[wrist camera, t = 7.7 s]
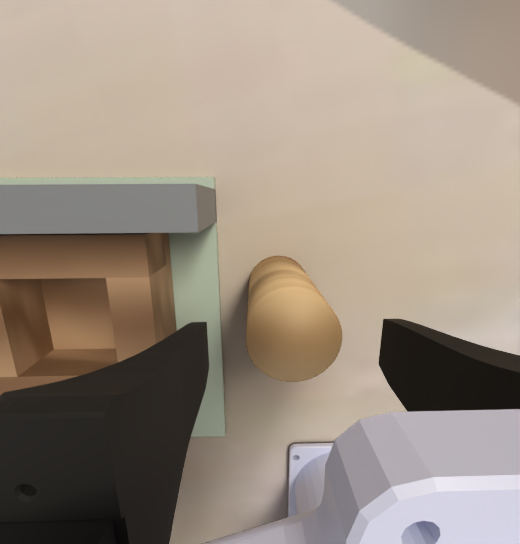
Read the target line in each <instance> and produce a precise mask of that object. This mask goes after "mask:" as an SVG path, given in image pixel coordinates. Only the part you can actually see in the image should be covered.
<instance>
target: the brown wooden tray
mask: <svg viewBox="0 0 520 544" xmlns="http://www.w3.org/2000/svg"><path fill="white" fill-rule="evenodd" d="M176 331H177V328H176V316H175V304H174V292H173V280H172V268H171V256H170V244H169V233H77V234H0V395H1V394H2V393H4V392H8V391H14V390H19V389H24V388H29V387H34V386H39V385H44V384H49V383H54V382H58V381H62V380H66V379H69V378H73V377H77V376H80V375H84V374H87V373H90V372H93V371H96V370H99V369H102V368H104V367H107V366H110V365H113V364H115V363H118V362H121V361H123V360H125V359H127V358H130V357H132V356H134V355H136V354H138V353H140V352H142V351H144V350H146V349H148V348H149V347H151V346H153V345H155V344H156V343H158V342H160V341H162V340H163V339H165V338H166V337H168V336H170V335H171V334H173V333H174V332H176Z"/></svg>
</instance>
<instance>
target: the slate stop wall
mask: <svg viewBox="0 0 520 544" xmlns="http://www.w3.org/2000/svg"><path fill="white" fill-rule="evenodd" d="M215 222H217V215H216V191H215V189H213V188H209V187H206V186H202V185H198V184H40V185H0V234H77V233H191V232H200V231H202V230H203V229H205V228H207V227H208V226H210V225H212V224H213V223H215Z"/></svg>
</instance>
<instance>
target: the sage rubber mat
mask: <svg viewBox="0 0 520 544" xmlns="http://www.w3.org/2000/svg"><path fill="white" fill-rule="evenodd" d="M40 184H198V185H202V186H206V187H209V188H213V189H215V177H122V178H0V185H40ZM169 244H170V256H171V268H172V280H173V292H174V304H175V316H176V328H177V330H179V329H180V328H182V327H184V326H185V325H187V324H189V323H191V322H207V336H208V354H209V372H208V378H207V384H206V389H205V393H204V396H203V399H202V402H201V406H200V409H199V412H198V415H197V418H196V421H195V425H194V428H193V431H192V434H191V437H219V436H225V434H226V428H225V404H224V380H223V357H222V333H221V309H220V286H219V262H218V239H217V222H215V223H213V224H212V225H210V226H208V227H207V228H205V229H203V230H202V231H200V232H191V233H169Z"/></svg>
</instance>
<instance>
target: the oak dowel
mask: <svg viewBox="0 0 520 544" xmlns="http://www.w3.org/2000/svg"><path fill="white" fill-rule="evenodd" d="M341 343H342V329H341V325H340V322H339V320H338V317H337V316H336V314H335V313H334V311H333V310H332V308H331V307H330V306H329V304H328V303H327V301H326V300H325V299H324V297H323V296H322V294H321V293H320V292H319V290H318V289H317V288H316V286H315V285H314V283H313V282H312V281H311V279H310V278H309V276H308V275H307V274H306V272H305V271H304V270H303V268H302V267H301V266H300V265H299V264H298V263H297V262H296V261H294V260H293V259H291V258H288V257H284V256H273V257H269V258H266V259H264V260H263V261H261V262H260V263H259V264H257V266H256V267H255V268H254V269H253V271H252V273H251V275H250V279H249V292H248V310H247V329H246V346H247V351H248V354H249V356H250V358H251V360H252V362H253V363H254V364H255V366H256V367H257V368H258V369H259V370H260V371H262V372H263V373H264V374H266V375H268V376H269V377H272V378H274V379H277V380H280V381H286V382H298V381H304V380H308V379H311V378H313V377H315V376H317V375H319V374H321V373H322V372H323V371H325V370H326V369H327V368H328V367H329V366H330V365H331V364H332V363H333V361H334V360H335V358H336V357H337V355H338V353H339V351H340V347H341Z"/></svg>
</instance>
